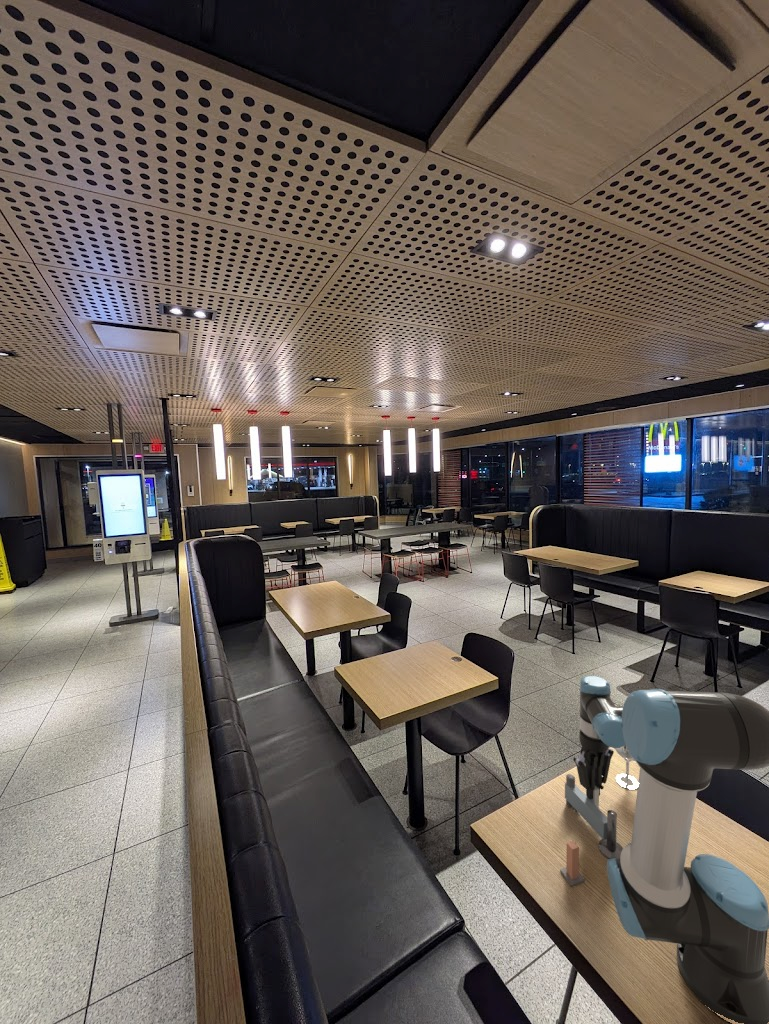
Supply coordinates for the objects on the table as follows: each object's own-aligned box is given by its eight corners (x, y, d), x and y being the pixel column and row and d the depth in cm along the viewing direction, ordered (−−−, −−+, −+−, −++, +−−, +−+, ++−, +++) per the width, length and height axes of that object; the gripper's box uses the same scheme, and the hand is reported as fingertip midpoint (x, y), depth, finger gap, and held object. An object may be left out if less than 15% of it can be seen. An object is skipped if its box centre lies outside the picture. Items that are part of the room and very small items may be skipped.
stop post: (584, 881, 104) (585, 849, 103) (571, 886, 103) (571, 854, 101) (573, 866, 108) (573, 835, 106) (560, 871, 106) (560, 840, 105)
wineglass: (606, 778, 136) (608, 727, 133) (623, 769, 139) (625, 719, 137) (630, 795, 128) (632, 742, 126) (647, 786, 132) (649, 733, 130)
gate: (610, 843, 113) (611, 813, 112) (603, 845, 112) (603, 815, 111) (570, 800, 128) (571, 773, 126) (564, 802, 127) (564, 775, 126)
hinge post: (629, 857, 109) (630, 819, 108) (611, 864, 108) (612, 826, 106) (611, 837, 115) (612, 801, 114) (593, 843, 113) (594, 807, 112)
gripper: (600, 718, 123) (599, 790, 126) (566, 729, 119) (565, 804, 122) (622, 733, 116) (620, 809, 119) (587, 746, 112) (585, 824, 115)
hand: (592, 806), depth 121 cm, fingers closed
